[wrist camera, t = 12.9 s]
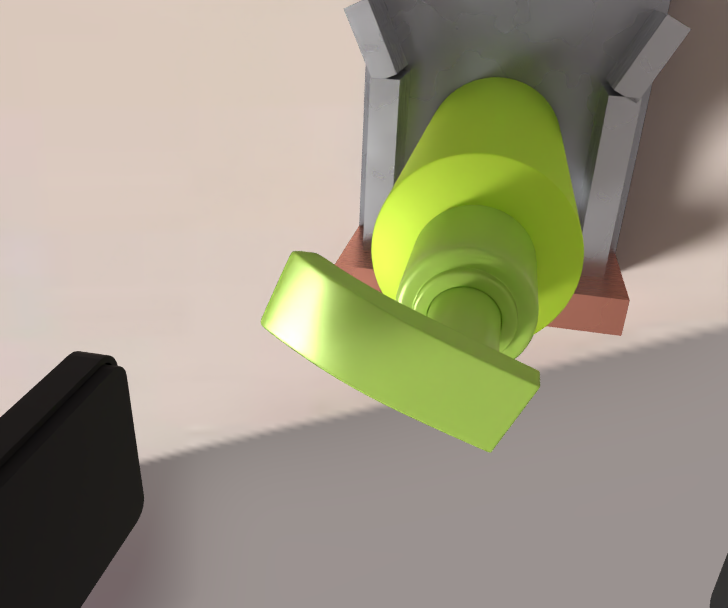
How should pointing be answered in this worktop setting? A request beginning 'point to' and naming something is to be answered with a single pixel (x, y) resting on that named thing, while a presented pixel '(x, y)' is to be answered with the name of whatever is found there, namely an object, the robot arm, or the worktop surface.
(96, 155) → the worktop surface
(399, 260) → the soap dispenser
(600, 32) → the grey slotted bracket
